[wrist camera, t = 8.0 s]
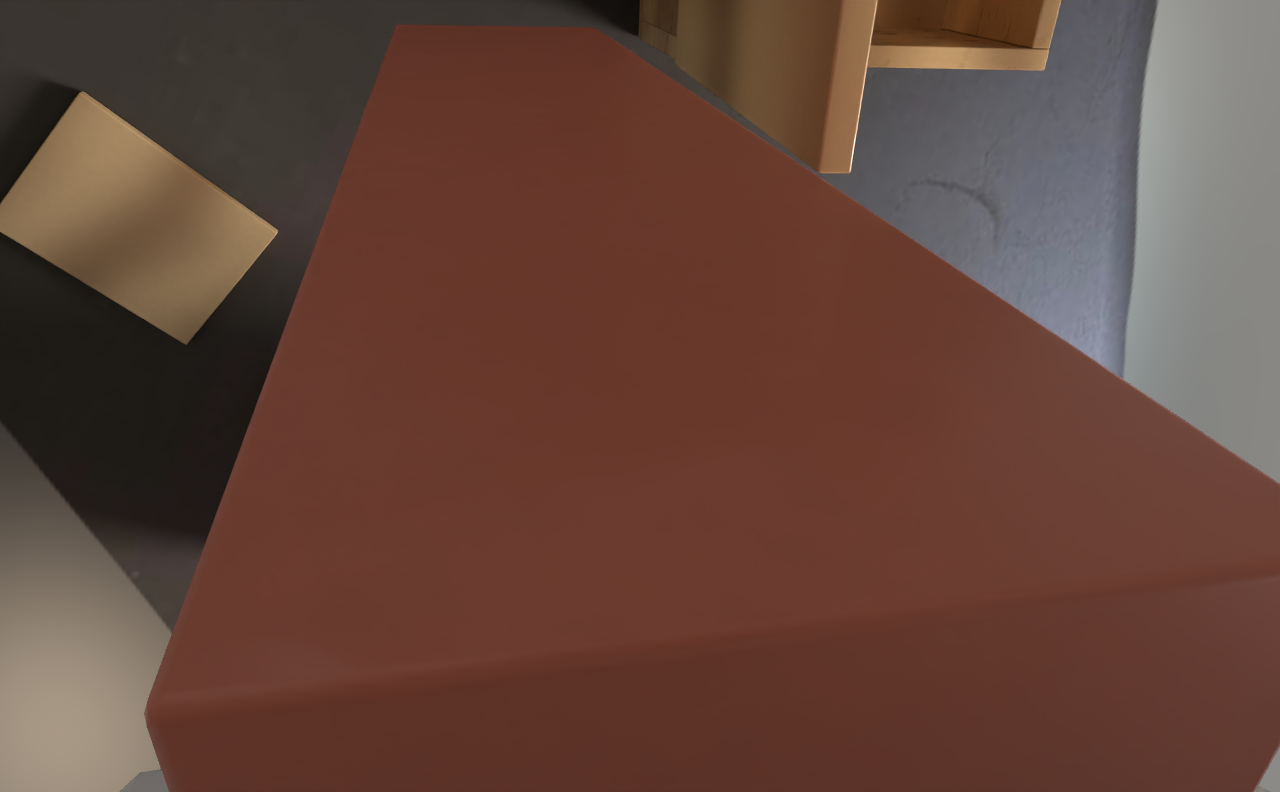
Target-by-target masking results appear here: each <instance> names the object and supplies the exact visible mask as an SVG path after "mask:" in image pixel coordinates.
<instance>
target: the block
mask: <svg viewBox="0 0 1280 792" xmlns="http://www.w3.org/2000/svg"><path fill="white" fill-rule="evenodd" d="M144 716H145V719H146V724H147V728H148V731H149V734H150V737H151V740H152V743H153V746H154V749H155V752H156V755H157V758H158V761H159V764H160V767H161V770H162V773H163V776H164V779H165V782H166V785H167V788H168V791H169V792H1255V790H1256V788H1257V787H1258V785H1259V783H1260V781H1261V779H1262V778H1263V776H1264V774H1265V772H1266V770H1267V769H1268V767H1269V765H1270V763H1271V762H1272V760H1273V758H1274V756H1275V754H1276V753H1277V751H1278V749H1279V747H1280V484H1279V483H1278V482H1276V481H1275V480H1273V479H1272V478H1270V477H1269V476H1267V475H1265V474H1264V473H1263V472H1261V471H1260V470H1258V469H1257V468H1255V467H1254V466H1252V465H1251V464H1249V463H1248V462H1246V461H1245V460H1243V459H1242V458H1240V457H1239V456H1237V455H1236V454H1234V453H1233V452H1231V451H1230V450H1228V449H1227V448H1225V447H1224V446H1222V445H1221V444H1219V443H1217V442H1216V441H1215V440H1213V439H1212V438H1210V437H1209V436H1207V435H1205V434H1204V433H1203V432H1201V431H1200V430H1198V429H1197V428H1195V427H1194V426H1192V425H1191V424H1189V423H1188V422H1186V421H1185V420H1183V419H1182V418H1180V417H1179V416H1177V415H1176V414H1174V413H1173V412H1171V411H1170V410H1168V409H1167V408H1165V407H1164V406H1162V405H1161V404H1159V403H1158V402H1156V401H1155V400H1153V399H1152V398H1150V397H1149V396H1147V395H1145V394H1144V393H1143V392H1141V391H1140V390H1138V389H1137V388H1135V387H1134V386H1132V385H1130V384H1129V383H1127V382H1126V381H1125V380H1123V379H1122V378H1120V377H1119V376H1117V375H1116V374H1114V373H1113V372H1111V371H1110V370H1108V369H1107V368H1105V367H1104V366H1102V365H1101V364H1099V363H1098V362H1096V361H1095V360H1093V359H1092V358H1090V357H1089V356H1087V355H1086V354H1084V353H1083V352H1081V351H1080V350H1078V349H1077V348H1075V347H1074V346H1072V345H1071V344H1069V343H1068V342H1066V341H1065V340H1063V339H1062V338H1060V337H1059V336H1057V335H1056V334H1054V333H1053V332H1051V331H1050V330H1048V329H1047V328H1045V327H1044V326H1042V325H1041V324H1039V323H1038V322H1036V321H1035V320H1033V319H1032V318H1030V317H1029V316H1027V315H1026V314H1024V313H1023V312H1021V311H1020V310H1018V309H1017V308H1015V307H1014V306H1012V305H1011V304H1009V303H1008V302H1006V301H1005V300H1003V299H1002V298H1000V297H999V296H997V295H996V294H994V293H993V292H991V291H990V290H988V289H987V288H985V287H984V286H982V285H981V284H979V283H978V282H976V281H975V280H973V279H972V278H970V277H969V276H967V275H966V274H964V273H963V272H961V271H960V270H958V269H957V268H955V267H954V266H952V265H951V264H949V263H948V262H946V261H945V260H943V259H942V258H940V257H939V256H937V255H936V254H934V253H932V252H931V251H929V250H928V249H926V248H925V247H923V246H922V245H920V244H919V243H917V242H916V241H914V240H913V239H911V238H910V237H908V236H907V235H905V234H904V233H902V232H901V231H899V230H898V229H896V228H895V227H893V226H892V225H890V224H889V223H887V222H886V221H884V220H883V219H881V218H880V217H878V216H877V215H875V214H874V213H872V212H871V211H869V210H868V209H866V208H865V207H863V206H862V205H860V204H859V203H857V202H856V201H854V200H853V199H851V198H850V197H848V196H847V195H845V194H844V193H842V192H841V191H839V190H838V189H836V188H835V187H833V186H832V185H830V184H829V183H827V182H826V181H824V180H823V179H821V178H820V177H818V176H817V175H815V174H814V173H812V172H811V171H809V170H808V169H806V168H805V167H803V166H802V165H800V164H799V163H797V162H796V161H794V160H793V159H791V158H790V157H788V156H787V155H785V154H784V153H782V152H781V151H779V150H778V149H776V148H775V147H773V146H772V145H770V144H769V143H767V142H766V141H764V140H763V139H761V138H760V137H758V136H757V135H755V134H754V133H752V132H751V131H749V130H748V129H746V128H745V127H743V126H742V125H740V124H739V123H737V122H736V121H734V120H733V119H731V118H730V117H728V116H727V115H725V114H724V113H722V112H721V111H719V110H718V109H716V108H715V107H713V106H712V105H710V104H709V103H707V102H706V101H704V100H703V99H701V98H700V97H698V96H697V95H695V94H694V93H692V92H691V91H689V90H688V89H686V88H685V87H683V86H682V85H680V84H679V83H677V82H676V81H674V80H673V79H671V78H670V77H668V76H667V75H665V74H664V73H662V72H661V71H659V70H658V69H656V68H655V67H653V66H652V65H650V64H649V63H647V62H646V61H644V60H643V59H641V58H640V57H638V56H637V55H635V54H634V53H632V52H631V51H629V50H628V49H626V48H625V47H623V46H622V45H620V44H619V43H617V42H616V41H614V40H613V39H611V38H610V37H608V36H607V35H605V34H604V33H602V32H601V31H599V30H598V29H596V28H584V27H521V26H459V25H396V27H395V29H394V32H393V35H392V37H391V40H390V43H389V46H388V48H387V51H386V54H385V56H384V59H383V62H382V65H381V67H380V70H379V73H378V75H377V78H376V81H375V84H374V86H373V89H372V92H371V95H370V97H369V100H368V103H367V105H366V108H365V111H364V114H363V116H362V119H361V122H360V124H359V127H358V130H357V133H356V135H355V138H354V141H353V143H352V146H351V149H350V152H349V154H348V157H347V160H346V162H345V165H344V168H343V171H342V173H341V176H340V179H339V182H338V184H337V187H336V190H335V192H334V195H333V198H332V201H331V203H330V206H329V209H328V211H327V214H326V217H325V220H324V222H323V225H322V228H321V230H320V233H319V236H318V239H317V241H316V244H315V247H314V249H313V252H312V255H311V258H310V260H309V263H308V266H307V268H306V271H305V274H304V277H303V279H302V282H301V285H300V288H299V290H298V293H297V296H296V298H295V301H294V304H293V307H292V309H291V312H290V315H289V317H288V320H287V323H286V326H285V328H284V331H283V334H282V336H281V339H280V342H279V345H278V347H277V350H276V353H275V355H274V358H273V361H272V364H271V366H270V369H269V372H268V375H267V377H266V380H265V383H264V385H263V388H262V391H261V394H260V396H259V399H258V402H257V404H256V407H255V410H254V413H253V415H252V418H251V421H250V423H249V426H248V429H247V432H246V434H245V437H244V440H243V442H242V445H241V448H240V451H239V453H238V456H237V459H236V461H235V464H234V467H233V470H232V472H231V475H230V478H229V481H228V483H227V486H226V489H225V491H224V494H223V497H222V500H221V502H220V505H219V508H218V510H217V513H216V516H215V519H214V521H213V524H212V527H211V529H210V532H209V535H208V538H207V540H206V543H205V546H204V548H203V551H202V554H201V557H200V559H199V562H198V565H197V568H196V570H195V573H194V576H193V578H192V581H191V584H190V587H189V589H188V592H187V595H186V597H185V600H184V603H183V606H182V608H181V611H180V614H179V616H178V619H177V622H176V625H175V627H174V630H173V633H172V636H171V639H170V641H169V644H168V646H167V649H166V652H165V655H164V657H163V660H162V663H161V665H160V668H159V671H158V674H157V676H156V679H155V682H154V685H153V687H152V690H151V693H150V695H149V698H148V701H147V705H146V708H145V712H144Z"/></svg>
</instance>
